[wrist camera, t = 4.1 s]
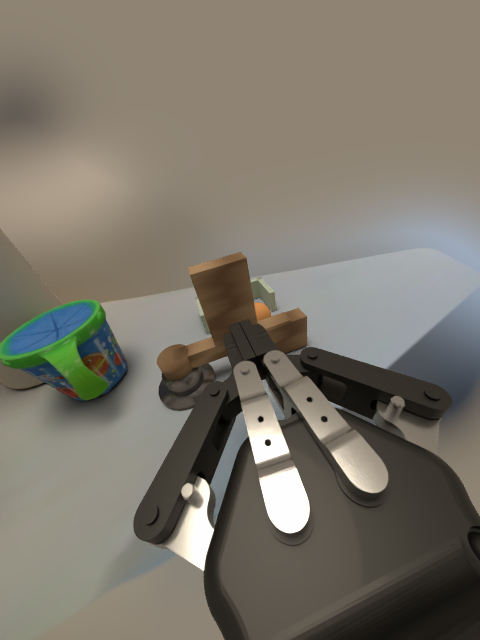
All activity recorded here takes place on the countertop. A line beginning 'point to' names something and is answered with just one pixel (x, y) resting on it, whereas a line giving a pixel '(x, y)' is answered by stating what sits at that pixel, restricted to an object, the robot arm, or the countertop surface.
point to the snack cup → (68, 350)
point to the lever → (228, 316)
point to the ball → (262, 311)
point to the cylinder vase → (19, 304)
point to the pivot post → (186, 388)
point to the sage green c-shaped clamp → (258, 290)
